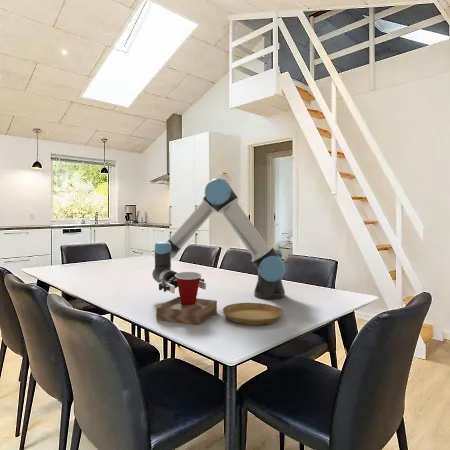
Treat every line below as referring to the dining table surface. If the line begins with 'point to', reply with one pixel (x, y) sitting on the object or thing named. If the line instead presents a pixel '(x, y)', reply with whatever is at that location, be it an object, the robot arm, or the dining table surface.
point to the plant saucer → (252, 313)
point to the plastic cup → (188, 286)
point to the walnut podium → (186, 311)
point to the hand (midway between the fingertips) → (190, 288)
